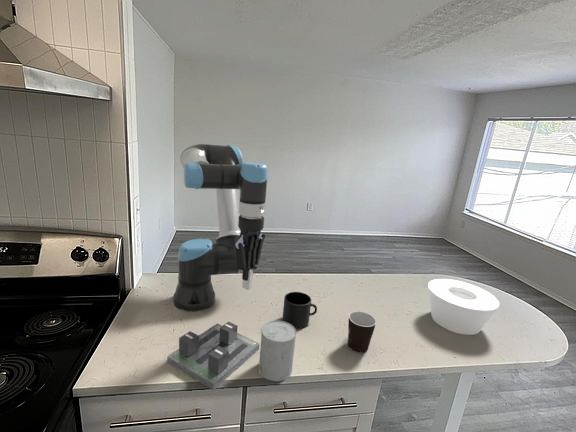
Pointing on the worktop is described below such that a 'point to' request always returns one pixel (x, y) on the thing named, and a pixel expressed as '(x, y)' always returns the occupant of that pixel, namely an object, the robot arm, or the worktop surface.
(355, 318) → the dark brown tapered cylinder
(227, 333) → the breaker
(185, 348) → the block
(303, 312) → the mug
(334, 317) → the worktop surface
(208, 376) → the panel
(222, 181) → the robot arm
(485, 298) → the bowl
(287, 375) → the grey stone cylinder
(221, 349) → the breaker
